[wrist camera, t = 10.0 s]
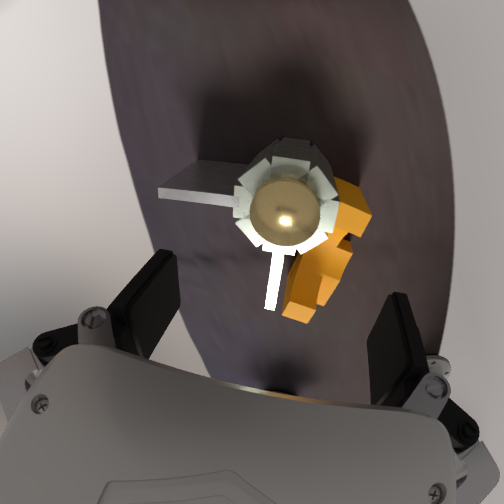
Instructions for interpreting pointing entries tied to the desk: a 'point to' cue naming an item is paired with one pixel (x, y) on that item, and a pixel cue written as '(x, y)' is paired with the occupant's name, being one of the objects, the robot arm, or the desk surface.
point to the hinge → (246, 185)
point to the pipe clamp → (325, 257)
